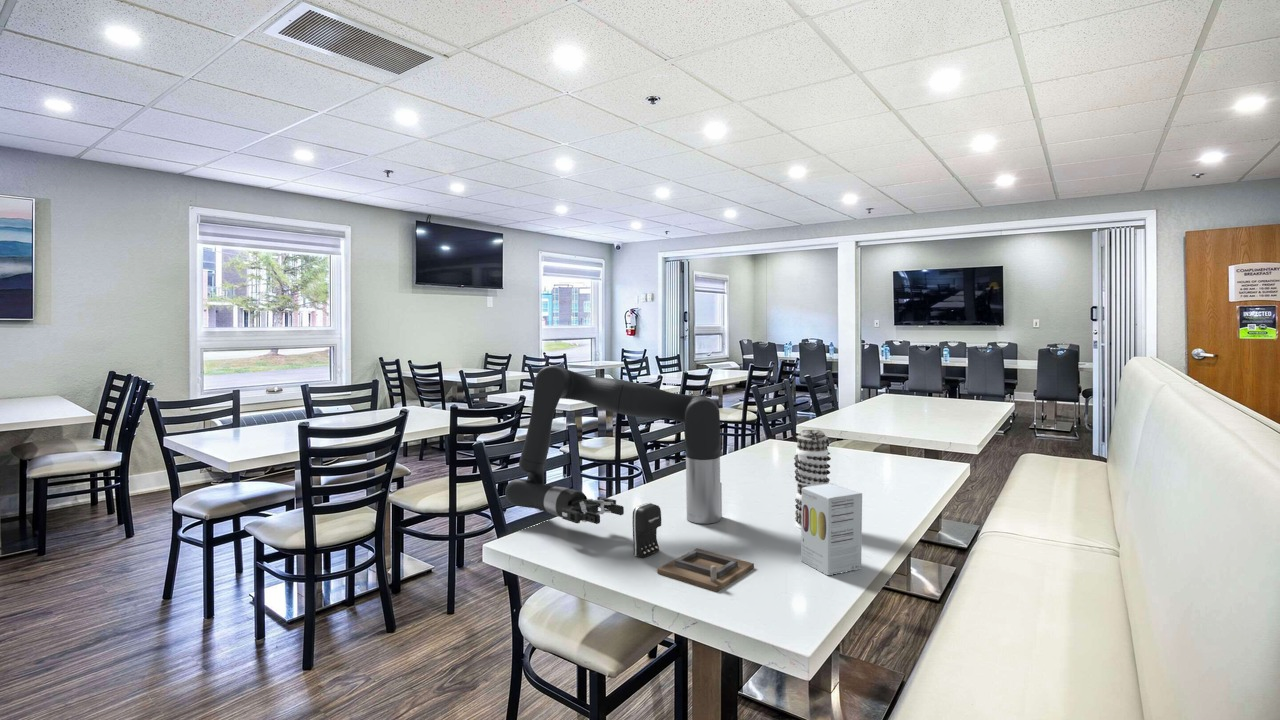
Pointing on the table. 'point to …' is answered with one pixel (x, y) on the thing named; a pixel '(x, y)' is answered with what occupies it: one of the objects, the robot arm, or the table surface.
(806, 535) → the supplement box
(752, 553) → the table surface
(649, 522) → the battery charger
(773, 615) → the table surface
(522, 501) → the robot arm
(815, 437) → the decorative candle
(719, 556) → the locating plate
